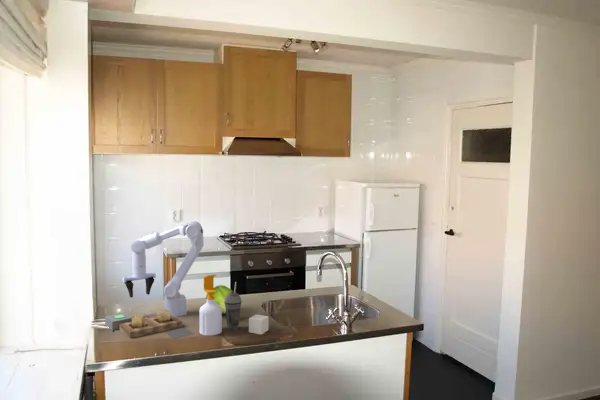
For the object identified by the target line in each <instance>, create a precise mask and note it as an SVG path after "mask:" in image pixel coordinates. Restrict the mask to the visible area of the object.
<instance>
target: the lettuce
mask: <svg viewBox="0 0 600 400" xmlns="http://www.w3.org/2000/svg"><path fill="white" fill-rule="evenodd" d="M214 289H215V290H216V291H217V292H215V293H214V294H213V297H215V303H216V304H218V305H219V306H221V308H222V315H223V314H225V315H226V307H225V303H224V301H225V297H226V296H227V294H229V293H231V292H234V290H232V289H231V288H229V287H227V286H226V285H222V284H220V285H216V286H214ZM207 297H209V294H207V293H206V297H205V303H206V302H207Z"/></svg>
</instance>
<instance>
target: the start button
mask: <svg viewBox="0 0 600 400" xmlns="http://www.w3.org/2000/svg"><path fill="white" fill-rule="evenodd" d="M114 318H115V319H120V318H125V316H123V315H117V316H114Z"/></svg>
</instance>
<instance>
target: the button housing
mask: <svg viewBox="0 0 600 400" xmlns="http://www.w3.org/2000/svg"><path fill="white" fill-rule="evenodd" d="M117 315H123V316H125V318H120V319H115V318H114V316H117ZM132 317H133V316H132V315H131V314H129V313H128V312H126V311H125V312H120V313H115V314H110V315H105V317H104V323H105V324H106V326H105V327H107V326H108V327H109V328H110V329H109V328H108V327H107V328H108V329H109V330H110V331H111V332H115V330H120V328H119V324H122V323H127V322H132ZM105 324H104V325H105Z"/></svg>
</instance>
